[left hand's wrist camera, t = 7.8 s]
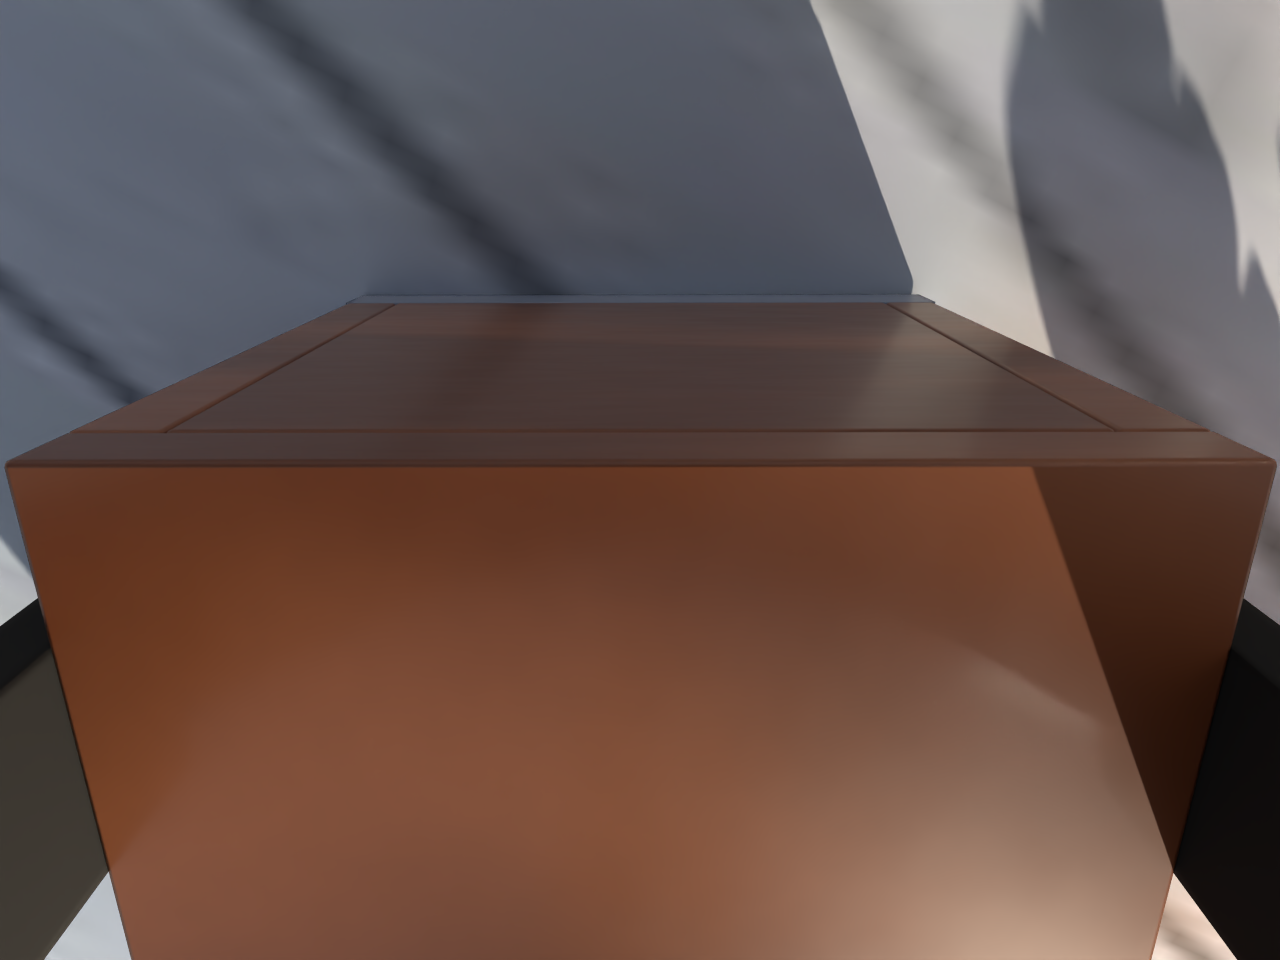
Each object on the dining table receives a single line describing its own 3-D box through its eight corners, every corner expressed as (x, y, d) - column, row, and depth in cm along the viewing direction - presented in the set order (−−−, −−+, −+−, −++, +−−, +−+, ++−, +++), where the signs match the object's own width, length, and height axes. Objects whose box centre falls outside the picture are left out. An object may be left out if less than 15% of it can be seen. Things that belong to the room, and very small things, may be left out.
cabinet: (855, 911, 23) (1020, 1484, 13) (427, 912, 23) (264, 1483, 13) (919, 294, 18) (1284, 459, 8) (362, 295, 18) (-3, 460, 8)
